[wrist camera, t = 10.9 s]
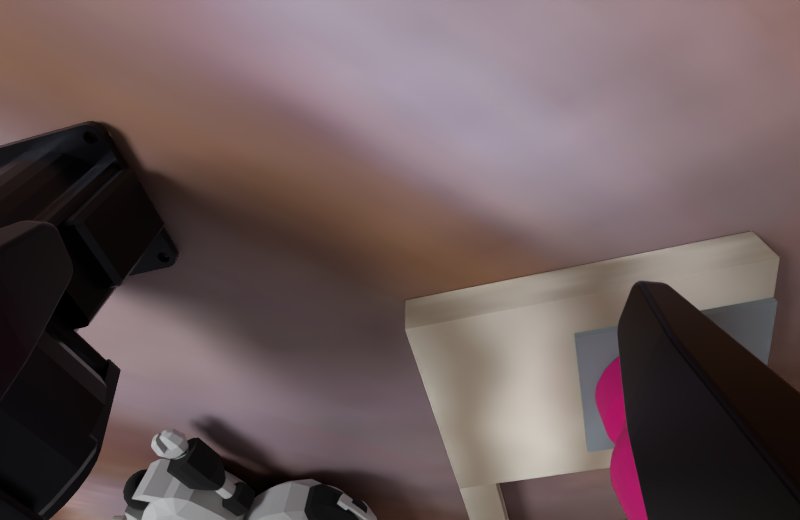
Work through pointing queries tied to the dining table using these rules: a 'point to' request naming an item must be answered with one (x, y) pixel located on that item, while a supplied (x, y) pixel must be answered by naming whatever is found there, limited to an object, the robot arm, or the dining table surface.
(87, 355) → the robot arm
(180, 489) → the robot toy
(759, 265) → the puzzle board
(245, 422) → the dining table surface
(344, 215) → the dining table surface
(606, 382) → the pepper mill
